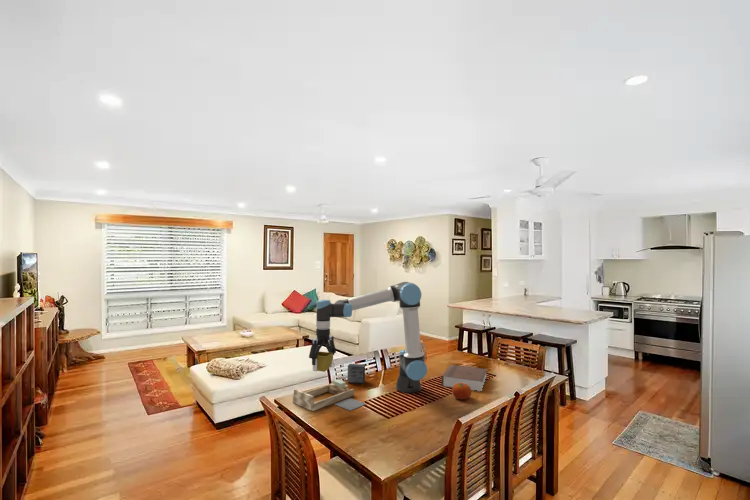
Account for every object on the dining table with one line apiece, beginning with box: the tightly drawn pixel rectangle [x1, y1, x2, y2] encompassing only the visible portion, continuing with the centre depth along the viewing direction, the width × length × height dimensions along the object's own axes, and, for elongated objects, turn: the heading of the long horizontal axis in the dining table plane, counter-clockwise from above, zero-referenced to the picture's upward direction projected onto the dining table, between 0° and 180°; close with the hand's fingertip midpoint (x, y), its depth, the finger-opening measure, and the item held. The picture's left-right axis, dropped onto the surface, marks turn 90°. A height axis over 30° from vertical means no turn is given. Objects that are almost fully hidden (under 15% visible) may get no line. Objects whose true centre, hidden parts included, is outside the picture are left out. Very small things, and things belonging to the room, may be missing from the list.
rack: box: [292, 382, 355, 412], centre depth 209 cm, size 16×30×7 cm, turn 139°
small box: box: [346, 363, 366, 385], centre depth 239 cm, size 11×6×10 cm, turn 84°
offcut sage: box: [332, 379, 347, 387], centre depth 217 cm, size 7×4×2 cm, turn 43°
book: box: [441, 364, 488, 392], centre depth 243 cm, size 24×28×6 cm
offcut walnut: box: [328, 388, 349, 395], centre depth 217 cm, size 12×4×3 cm, turn 56°
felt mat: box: [333, 397, 367, 412], centre depth 202 cm, size 12×12×1 cm
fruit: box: [451, 383, 472, 400], centre depth 214 cm, size 11×10×8 cm
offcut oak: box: [329, 382, 349, 392], centre depth 217 cm, size 10×4×2 cm, turn 64°
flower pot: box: [316, 350, 334, 373], centre depth 208 cm, size 9×9×9 cm
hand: (322, 368), depth 208 cm, fingers closed on flower pot, 10 cm apart
